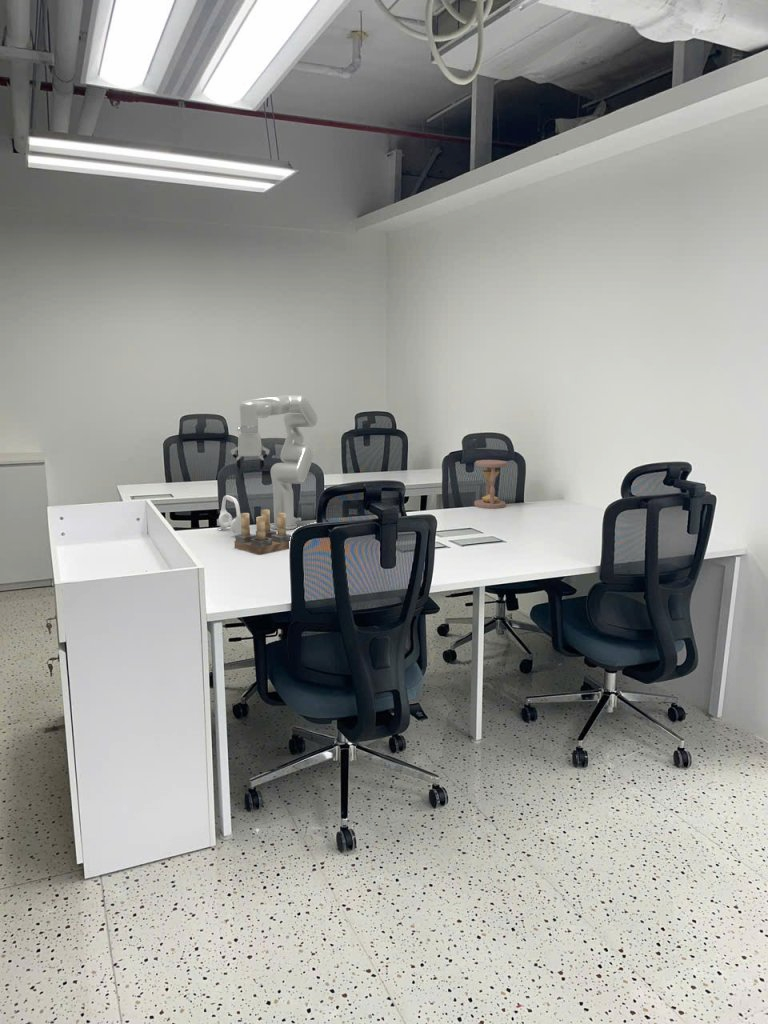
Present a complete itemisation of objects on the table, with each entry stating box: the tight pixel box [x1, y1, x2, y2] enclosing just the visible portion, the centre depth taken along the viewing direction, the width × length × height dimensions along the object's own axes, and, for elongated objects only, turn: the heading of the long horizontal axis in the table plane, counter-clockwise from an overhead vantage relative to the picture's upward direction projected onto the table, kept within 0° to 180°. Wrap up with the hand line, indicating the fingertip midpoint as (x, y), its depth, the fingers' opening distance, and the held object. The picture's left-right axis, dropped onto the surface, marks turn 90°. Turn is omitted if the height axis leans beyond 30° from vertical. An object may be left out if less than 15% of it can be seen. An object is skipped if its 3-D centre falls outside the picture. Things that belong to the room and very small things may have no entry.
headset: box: [216, 494, 241, 536], centre depth 352 cm, size 20×7×18 cm, turn 33°
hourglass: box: [473, 459, 508, 510], centre depth 421 cm, size 18×18×25 cm
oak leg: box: [255, 515, 266, 541], centre depth 317 cm, size 4×4×12 cm
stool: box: [233, 509, 292, 556], centre depth 325 cm, size 18×18×15 cm
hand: (250, 468), depth 335 cm, fingers open, 9 cm apart
